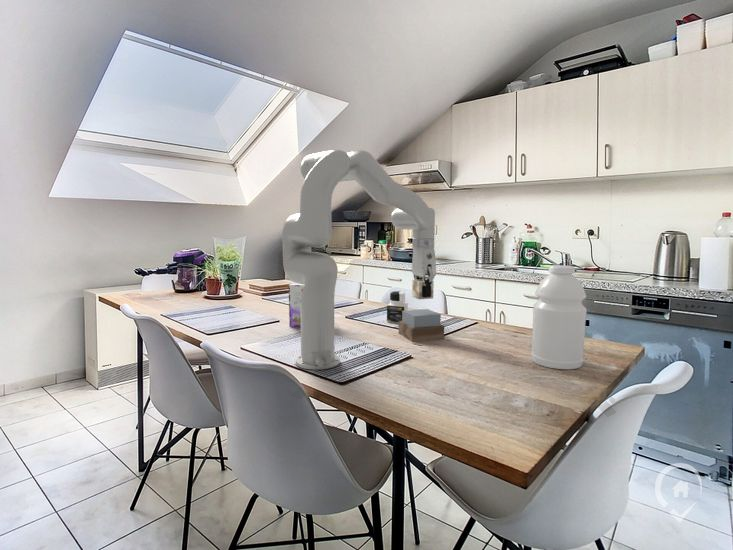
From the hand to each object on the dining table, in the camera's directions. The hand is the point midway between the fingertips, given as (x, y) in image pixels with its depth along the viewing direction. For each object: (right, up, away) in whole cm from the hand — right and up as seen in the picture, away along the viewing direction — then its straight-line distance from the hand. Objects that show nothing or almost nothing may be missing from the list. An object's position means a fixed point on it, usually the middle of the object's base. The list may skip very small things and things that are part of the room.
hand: (422, 295), depth 155 cm
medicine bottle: (-7, -12, +26) cm, 29 cm away
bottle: (+35, -19, -26) cm, 48 cm away
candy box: (-42, -13, +17) cm, 47 cm away
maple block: (0, -1, 0) cm, 1 cm away
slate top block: (0, -10, +1) cm, 10 cm away
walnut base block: (0, -15, +2) cm, 15 cm away
